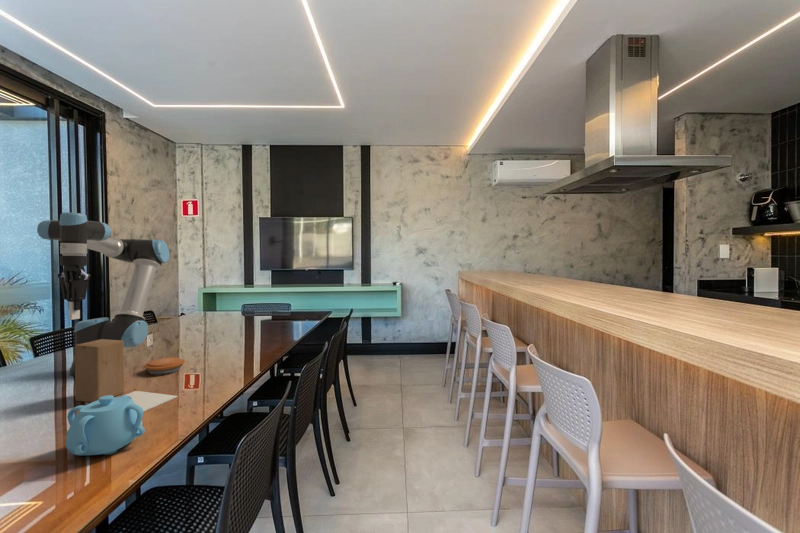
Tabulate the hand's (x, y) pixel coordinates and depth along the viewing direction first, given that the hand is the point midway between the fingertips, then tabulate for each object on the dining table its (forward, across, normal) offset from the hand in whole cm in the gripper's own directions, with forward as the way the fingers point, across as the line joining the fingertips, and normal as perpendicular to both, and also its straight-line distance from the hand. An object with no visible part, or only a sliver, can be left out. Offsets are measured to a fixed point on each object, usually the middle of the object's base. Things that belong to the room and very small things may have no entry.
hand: (74, 318), depth 136 cm
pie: (+28, +8, +31) cm, 43 cm away
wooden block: (+28, +12, 0) cm, 31 cm away
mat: (+28, +29, 0) cm, 40 cm away
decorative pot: (+28, +49, -26) cm, 62 cm away
